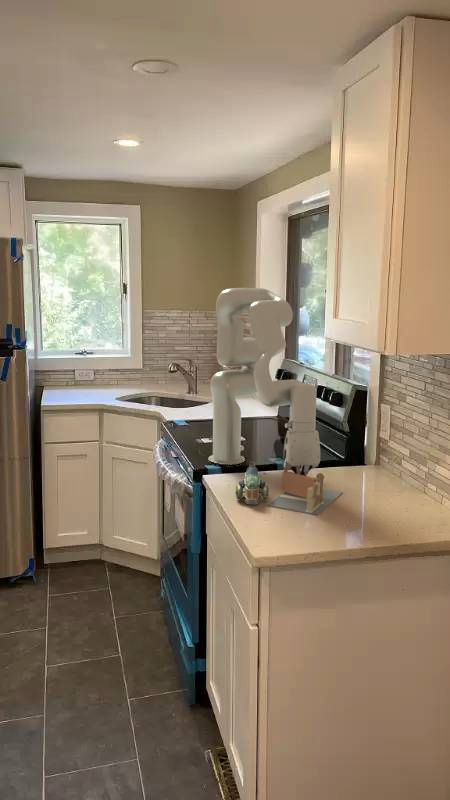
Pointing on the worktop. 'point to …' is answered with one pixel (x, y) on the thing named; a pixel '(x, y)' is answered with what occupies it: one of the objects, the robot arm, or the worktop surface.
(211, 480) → the worktop surface
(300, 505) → the card
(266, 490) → the hoverbike
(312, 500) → the fence post
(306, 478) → the fold panel
